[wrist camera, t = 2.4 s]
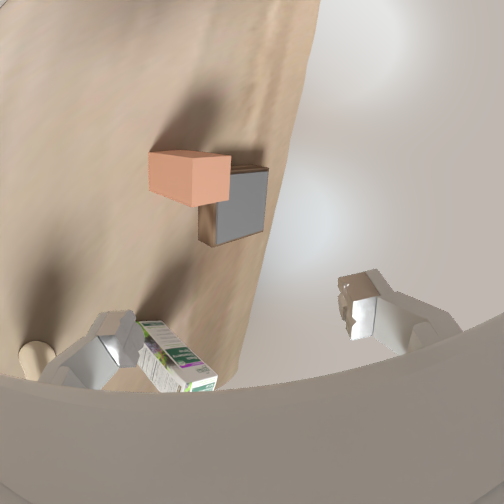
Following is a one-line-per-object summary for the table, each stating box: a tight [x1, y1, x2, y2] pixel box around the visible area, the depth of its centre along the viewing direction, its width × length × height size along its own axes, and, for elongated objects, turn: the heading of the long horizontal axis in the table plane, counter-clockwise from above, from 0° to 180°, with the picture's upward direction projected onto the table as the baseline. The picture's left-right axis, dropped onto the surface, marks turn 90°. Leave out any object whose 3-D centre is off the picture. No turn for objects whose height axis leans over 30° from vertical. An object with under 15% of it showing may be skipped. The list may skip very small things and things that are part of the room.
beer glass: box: [19, 341, 56, 381], centre depth 22 cm, size 7×7×15 cm
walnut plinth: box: [198, 165, 269, 247], centre depth 43 cm, size 11×11×4 cm
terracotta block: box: [149, 150, 231, 207], centre depth 31 cm, size 5×5×10 cm
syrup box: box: [136, 320, 218, 393], centre depth 36 cm, size 6×6×14 cm
